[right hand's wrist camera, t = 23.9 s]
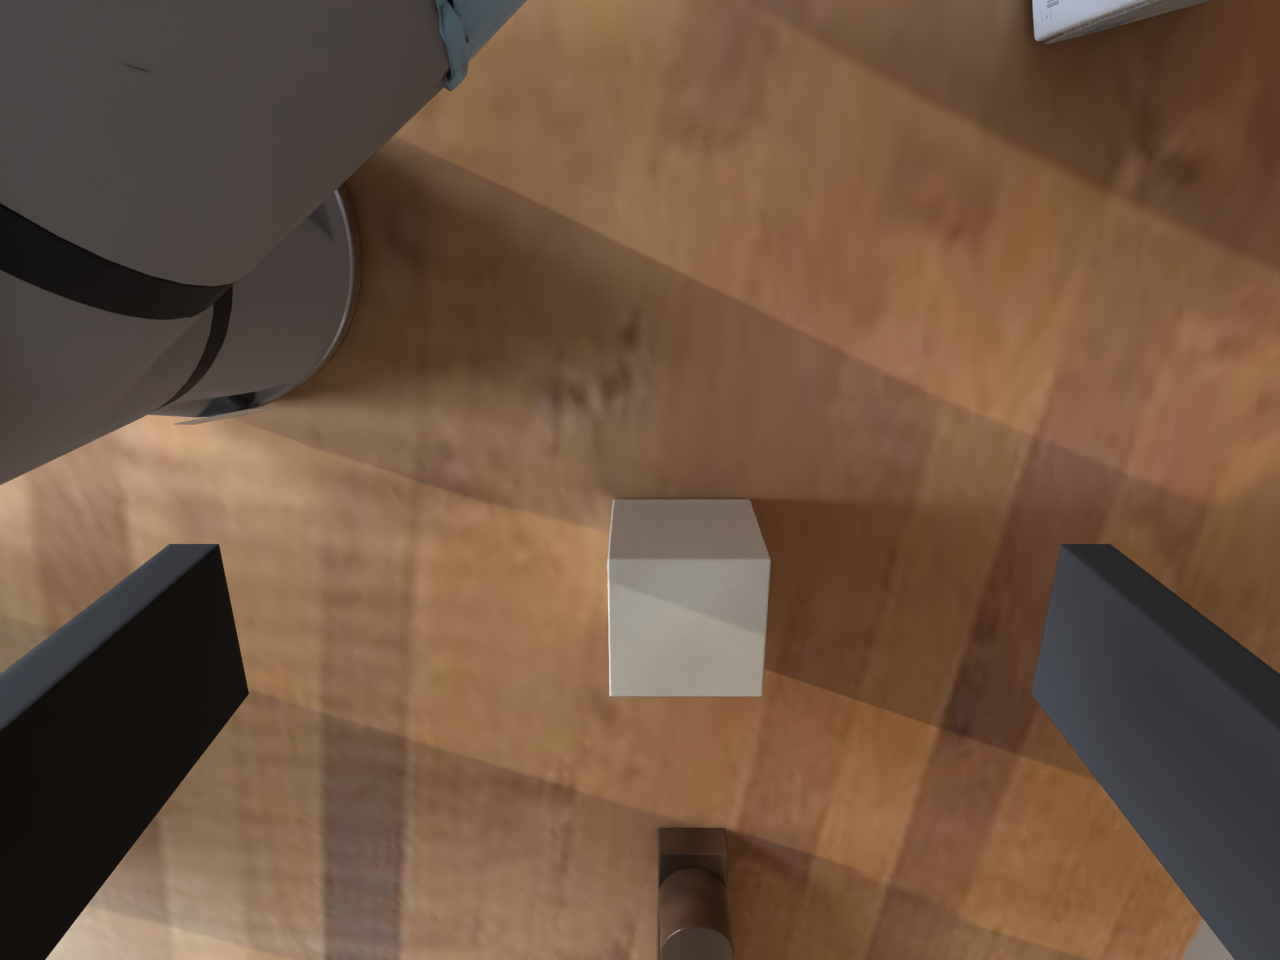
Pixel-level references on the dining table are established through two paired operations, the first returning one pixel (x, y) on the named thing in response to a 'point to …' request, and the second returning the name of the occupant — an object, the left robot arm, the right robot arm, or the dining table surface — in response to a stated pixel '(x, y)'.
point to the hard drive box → (1095, 15)
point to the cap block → (686, 598)
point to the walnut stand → (693, 895)
